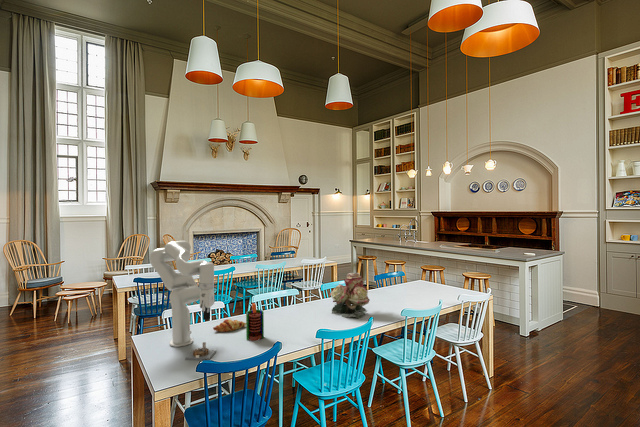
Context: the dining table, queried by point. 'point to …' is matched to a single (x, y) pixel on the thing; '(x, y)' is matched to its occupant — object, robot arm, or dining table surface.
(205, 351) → the sprocket
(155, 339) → the dining table surface
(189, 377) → the dining table surface
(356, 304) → the rose bouquet
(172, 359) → the dining table surface
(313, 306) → the dining table surface
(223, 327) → the croissant
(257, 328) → the motor
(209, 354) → the base plate
